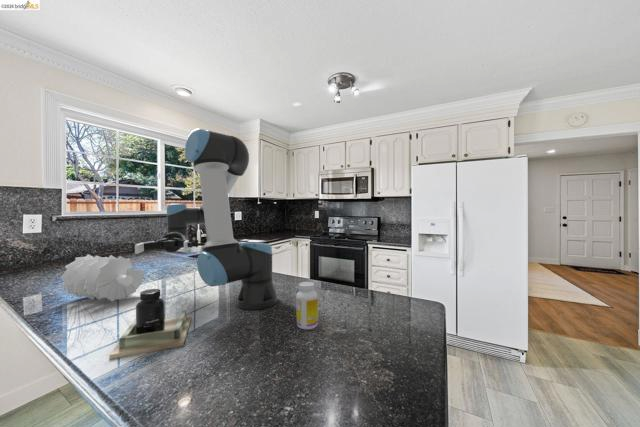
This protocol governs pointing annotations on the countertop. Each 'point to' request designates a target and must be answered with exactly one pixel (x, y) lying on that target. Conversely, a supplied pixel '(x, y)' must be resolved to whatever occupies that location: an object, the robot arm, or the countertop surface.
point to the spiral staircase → (102, 277)
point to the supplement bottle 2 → (307, 306)
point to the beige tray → (153, 338)
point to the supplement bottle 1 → (150, 312)
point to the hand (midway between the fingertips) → (161, 247)
